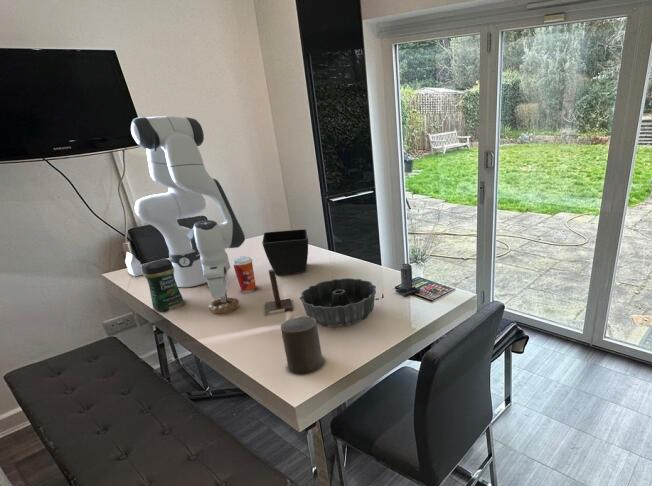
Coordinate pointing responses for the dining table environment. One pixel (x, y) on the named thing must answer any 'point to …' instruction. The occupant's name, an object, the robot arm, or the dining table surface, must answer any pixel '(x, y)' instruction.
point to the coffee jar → (162, 284)
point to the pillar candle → (302, 344)
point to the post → (277, 297)
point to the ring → (215, 309)
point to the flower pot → (286, 251)
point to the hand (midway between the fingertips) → (224, 299)
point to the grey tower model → (406, 281)
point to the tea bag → (133, 265)
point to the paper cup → (244, 272)
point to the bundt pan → (339, 301)
